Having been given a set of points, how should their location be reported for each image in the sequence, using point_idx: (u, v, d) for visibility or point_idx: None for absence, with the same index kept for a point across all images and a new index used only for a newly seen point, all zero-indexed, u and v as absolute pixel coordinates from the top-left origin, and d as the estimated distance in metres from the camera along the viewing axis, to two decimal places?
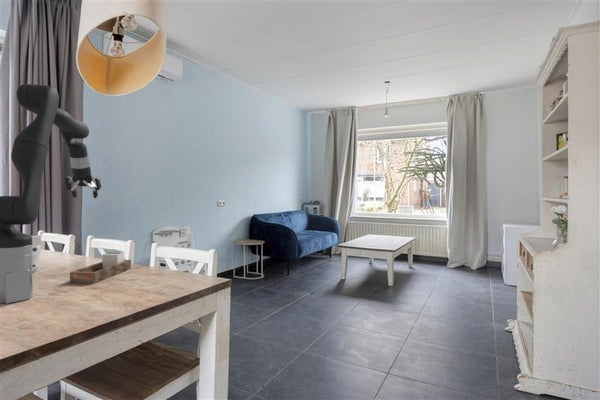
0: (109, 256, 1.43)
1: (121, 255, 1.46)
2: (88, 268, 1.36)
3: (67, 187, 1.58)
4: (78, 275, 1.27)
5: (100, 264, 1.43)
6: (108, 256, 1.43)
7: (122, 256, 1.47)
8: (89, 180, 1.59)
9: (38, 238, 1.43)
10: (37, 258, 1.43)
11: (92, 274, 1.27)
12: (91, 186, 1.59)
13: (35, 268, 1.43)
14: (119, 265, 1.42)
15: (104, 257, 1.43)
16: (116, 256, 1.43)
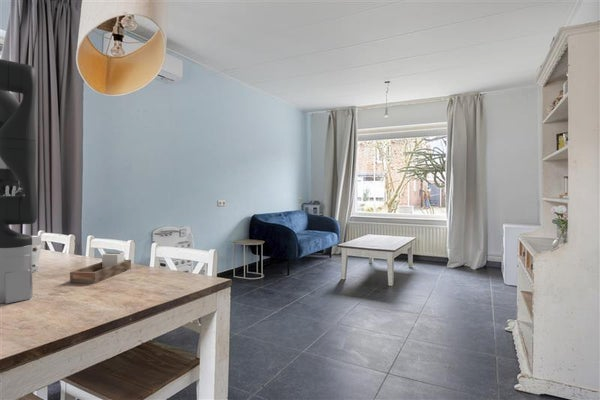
0: (109, 256, 1.43)
1: (121, 255, 1.46)
2: (88, 268, 1.36)
3: None
4: (78, 275, 1.27)
5: (100, 264, 1.43)
6: (108, 256, 1.43)
7: (122, 256, 1.47)
8: (16, 190, 1.29)
9: (38, 238, 1.43)
10: (37, 258, 1.43)
11: (92, 274, 1.27)
12: None
13: (35, 268, 1.43)
14: (119, 265, 1.42)
15: (104, 257, 1.43)
16: (116, 256, 1.43)
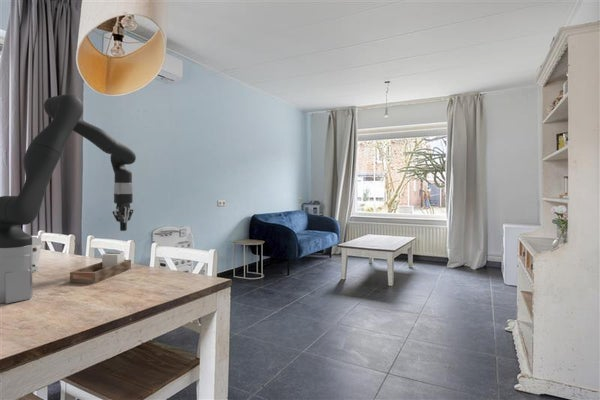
0: (109, 256, 1.43)
1: (121, 255, 1.46)
2: (88, 268, 1.36)
3: None
4: (78, 275, 1.27)
5: (100, 264, 1.43)
6: (108, 256, 1.43)
7: (122, 256, 1.47)
8: None
9: (38, 238, 1.43)
10: (37, 258, 1.43)
11: (92, 274, 1.27)
12: None
13: (35, 268, 1.43)
14: (119, 265, 1.42)
15: (104, 257, 1.43)
16: (116, 256, 1.43)
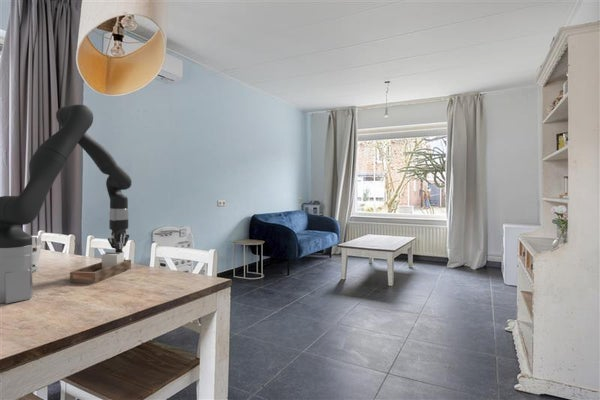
0: (108, 256, 1.43)
1: (120, 255, 1.46)
2: (88, 268, 1.36)
3: None
4: (78, 275, 1.27)
5: (100, 264, 1.43)
6: (107, 256, 1.43)
7: (122, 256, 1.47)
8: None
9: (38, 238, 1.43)
10: (37, 258, 1.43)
11: (92, 274, 1.27)
12: None
13: (35, 268, 1.43)
14: (119, 265, 1.42)
15: (103, 257, 1.43)
16: (115, 256, 1.43)
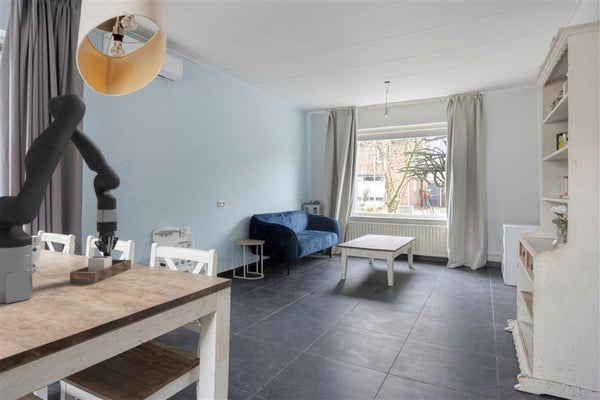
0: (95, 260, 1.34)
1: (108, 259, 1.37)
2: None
3: None
4: (78, 275, 1.27)
5: None
6: (94, 260, 1.35)
7: (110, 260, 1.38)
8: None
9: (38, 238, 1.43)
10: (37, 258, 1.43)
11: (92, 274, 1.27)
12: None
13: (35, 268, 1.43)
14: (119, 265, 1.42)
15: (90, 261, 1.35)
16: (103, 260, 1.34)
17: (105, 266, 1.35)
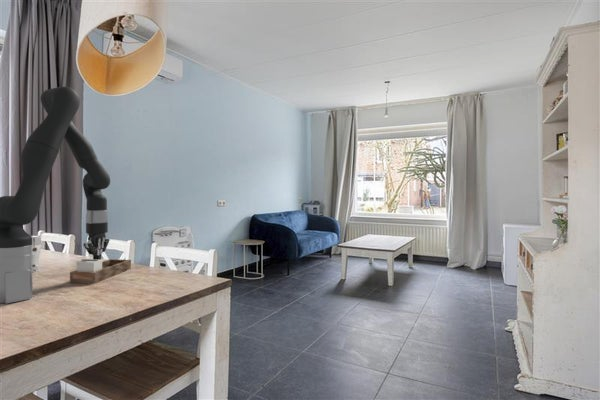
0: (84, 264, 1.28)
1: (98, 262, 1.31)
2: None
3: None
4: (78, 275, 1.27)
5: None
6: (83, 264, 1.28)
7: (100, 263, 1.32)
8: None
9: (38, 238, 1.43)
10: (37, 258, 1.43)
11: (92, 274, 1.27)
12: None
13: (35, 268, 1.43)
14: (119, 265, 1.42)
15: (79, 265, 1.28)
16: (92, 264, 1.28)
17: (95, 270, 1.29)
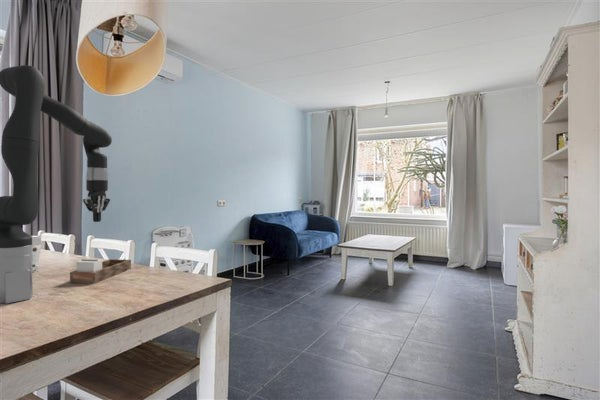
0: (84, 264, 1.28)
1: (98, 262, 1.31)
2: None
3: None
4: (78, 275, 1.27)
5: None
6: (83, 264, 1.28)
7: (100, 263, 1.32)
8: None
9: (38, 238, 1.43)
10: (37, 258, 1.43)
11: (92, 274, 1.27)
12: None
13: (35, 268, 1.43)
14: (119, 265, 1.42)
15: (79, 265, 1.28)
16: (92, 264, 1.28)
17: (95, 270, 1.29)
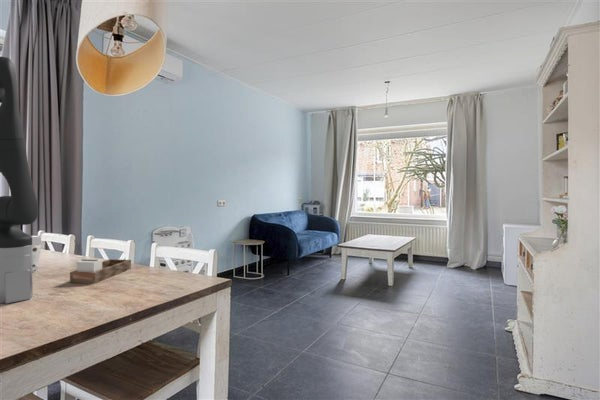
0: (84, 264, 1.28)
1: (98, 262, 1.31)
2: None
3: None
4: (78, 275, 1.27)
5: None
6: (83, 264, 1.28)
7: (100, 263, 1.32)
8: None
9: (38, 238, 1.43)
10: (37, 258, 1.43)
11: (92, 274, 1.27)
12: None
13: (35, 268, 1.43)
14: (119, 265, 1.42)
15: (79, 265, 1.28)
16: (92, 264, 1.28)
17: (95, 270, 1.29)
